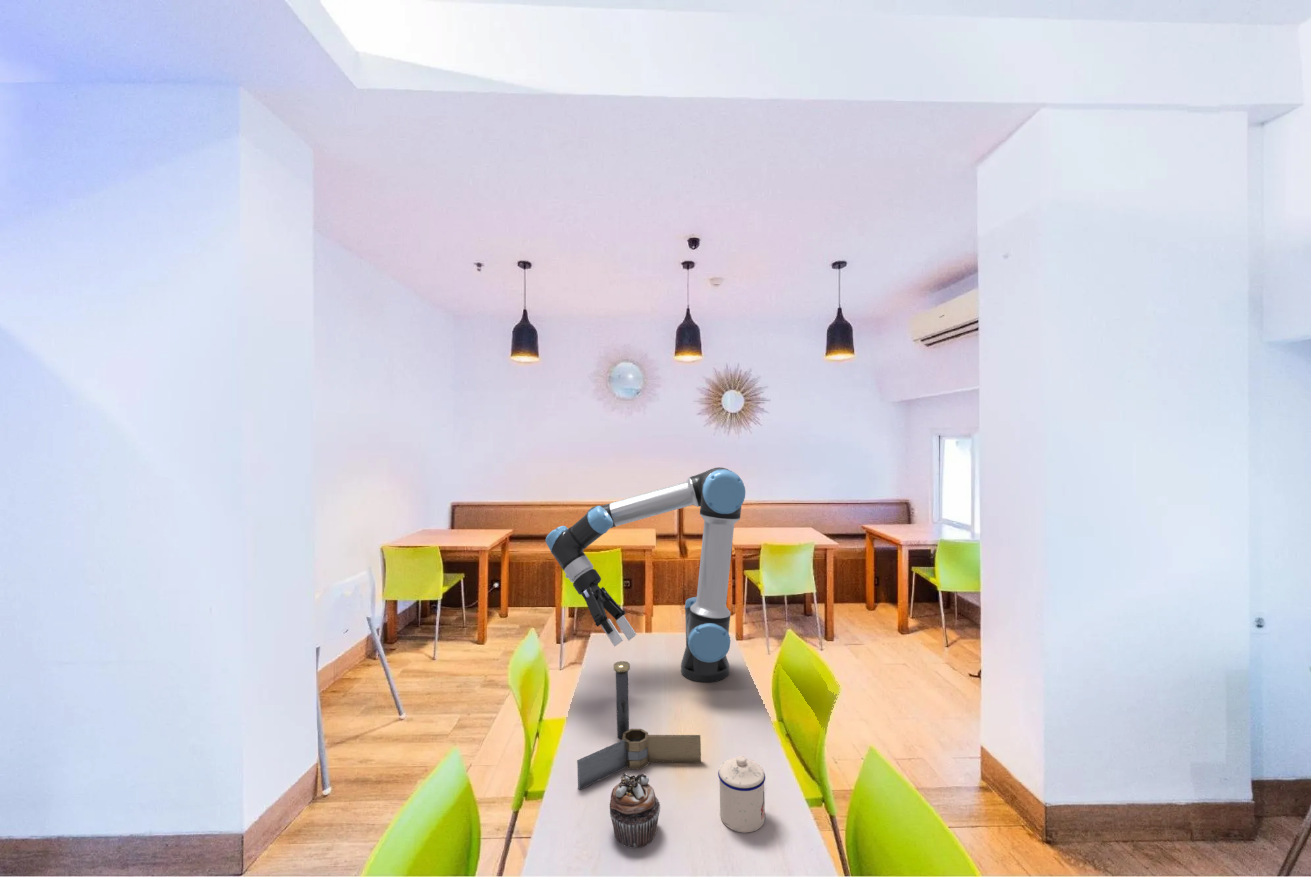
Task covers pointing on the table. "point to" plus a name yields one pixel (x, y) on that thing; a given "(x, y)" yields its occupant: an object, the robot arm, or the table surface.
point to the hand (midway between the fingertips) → (626, 640)
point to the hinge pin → (622, 697)
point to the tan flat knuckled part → (663, 748)
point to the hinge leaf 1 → (606, 762)
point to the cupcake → (634, 811)
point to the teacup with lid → (742, 794)
